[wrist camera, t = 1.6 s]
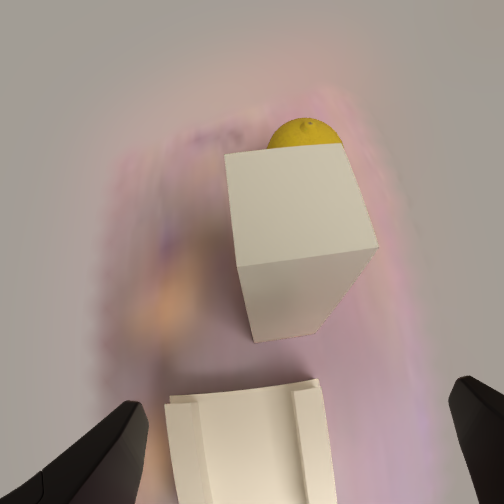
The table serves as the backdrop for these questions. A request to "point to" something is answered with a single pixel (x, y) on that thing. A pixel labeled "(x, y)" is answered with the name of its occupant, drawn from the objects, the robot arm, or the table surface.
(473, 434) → the robot arm
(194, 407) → the rack
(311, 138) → the lemon
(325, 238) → the clay bar
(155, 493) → the table surface
